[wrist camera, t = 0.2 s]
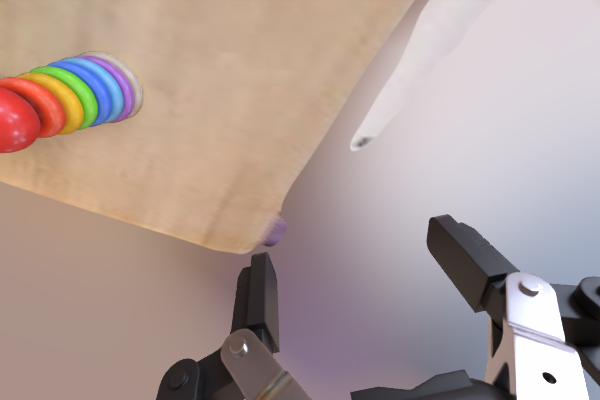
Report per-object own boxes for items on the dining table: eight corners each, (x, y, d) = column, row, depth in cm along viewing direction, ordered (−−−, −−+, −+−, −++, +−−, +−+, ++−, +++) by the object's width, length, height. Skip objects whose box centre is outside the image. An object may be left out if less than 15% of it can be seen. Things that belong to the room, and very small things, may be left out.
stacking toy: (120, 42, 30) (-41, 46, 15) (157, 108, 35) (65, 166, 19) (60, 61, 31) (-158, 86, 15) (105, 124, 35) (-28, 194, 19)
